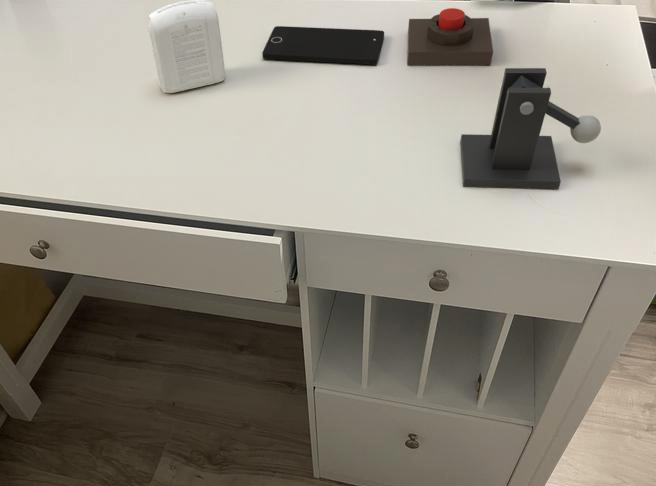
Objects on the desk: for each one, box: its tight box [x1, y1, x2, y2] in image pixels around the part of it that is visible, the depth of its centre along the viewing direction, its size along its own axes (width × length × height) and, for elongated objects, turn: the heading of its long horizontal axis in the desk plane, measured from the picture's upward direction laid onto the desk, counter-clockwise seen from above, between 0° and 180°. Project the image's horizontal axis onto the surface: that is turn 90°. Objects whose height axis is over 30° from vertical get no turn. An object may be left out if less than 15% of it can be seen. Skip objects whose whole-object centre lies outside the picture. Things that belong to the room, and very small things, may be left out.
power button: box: [438, 7, 466, 30], centre depth 98 cm, size 4×4×2 cm
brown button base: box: [406, 13, 494, 66], centre depth 100 cm, size 12×10×4 cm
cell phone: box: [261, 25, 385, 66], centre depth 105 cm, size 9×18×1 cm, turn 75°
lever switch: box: [507, 76, 602, 144], centre depth 77 cm, size 12×3×3 cm
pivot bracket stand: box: [459, 67, 562, 190], centre depth 79 cm, size 11×9×12 cm
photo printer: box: [147, 0, 226, 94], centre depth 97 cm, size 10×4×12 cm, turn 106°
